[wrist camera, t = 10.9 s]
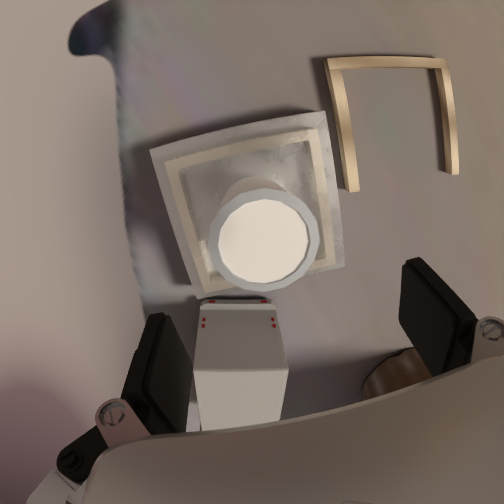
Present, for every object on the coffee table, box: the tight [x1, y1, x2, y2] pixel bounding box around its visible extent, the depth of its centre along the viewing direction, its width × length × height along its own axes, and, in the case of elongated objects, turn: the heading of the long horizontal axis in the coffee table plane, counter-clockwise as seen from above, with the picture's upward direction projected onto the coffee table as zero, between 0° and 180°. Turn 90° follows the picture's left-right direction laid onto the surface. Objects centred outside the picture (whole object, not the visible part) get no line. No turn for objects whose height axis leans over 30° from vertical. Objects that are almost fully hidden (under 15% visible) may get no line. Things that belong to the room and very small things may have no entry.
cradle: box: [323, 56, 459, 193], centre depth 24 cm, size 12×13×1 cm
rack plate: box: [149, 111, 345, 299], centre depth 26 cm, size 14×14×4 cm
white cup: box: [208, 176, 320, 292], centre depth 22 cm, size 7×7×7 cm
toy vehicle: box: [193, 300, 289, 431], centre depth 31 cm, size 9×18×10 cm, turn 178°
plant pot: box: [362, 348, 432, 401], centre depth 32 cm, size 16×16×16 cm
